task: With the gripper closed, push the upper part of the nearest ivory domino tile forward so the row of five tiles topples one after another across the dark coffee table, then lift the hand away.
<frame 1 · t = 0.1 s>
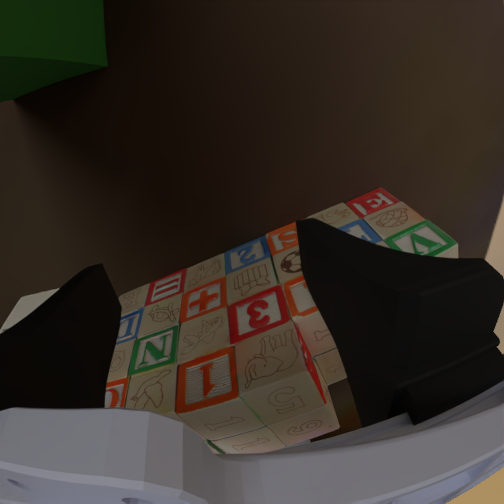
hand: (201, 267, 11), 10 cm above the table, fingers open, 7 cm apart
stack of blocks: (259, 273, 24), on the table
domino 5: (44, 300, 23), on the table
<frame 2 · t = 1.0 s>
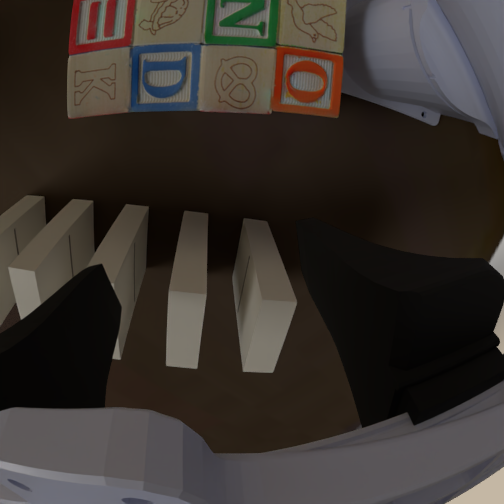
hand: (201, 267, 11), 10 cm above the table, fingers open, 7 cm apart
domino 3: (136, 237, 22), on the table
domino 2: (192, 244, 22), on the table
domino 1: (248, 250, 23), on the table
domino 5: (37, 226, 20), on the table
domino 4: (83, 231, 21), on the table
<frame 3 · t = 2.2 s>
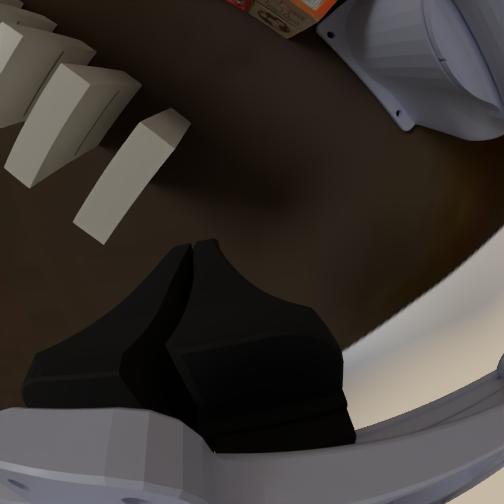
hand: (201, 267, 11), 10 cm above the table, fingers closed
domino 3: (66, 76, 16), on the table
domino 2: (109, 108, 17), on the table
domino 1: (157, 144, 19), on the table
domino 4: (29, 49, 14), on the table
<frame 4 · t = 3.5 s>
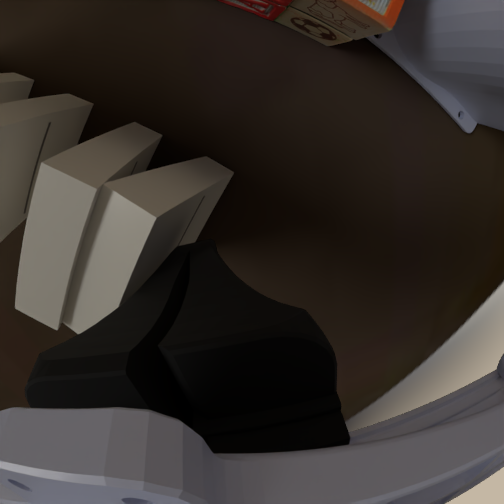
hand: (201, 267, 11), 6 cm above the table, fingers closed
domino 3: (64, 141, 14), on the table
domino 2: (128, 171, 15), on the table
domino 1: (197, 205, 16), on the table, tilted 17°, touching gripper
domino 4: (9, 117, 12), on the table
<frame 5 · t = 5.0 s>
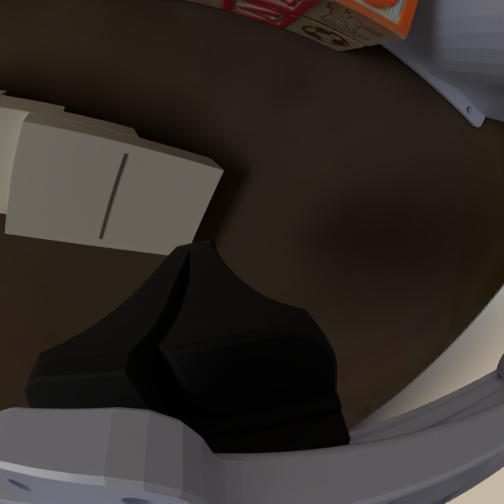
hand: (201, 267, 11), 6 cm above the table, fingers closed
domino 3: (51, 154, 13), point 1 cm above the table, tilted 66°, touching domino 2, domino 4
domino 2: (119, 178, 14), point 1 cm above the table, tilted 66°, touching domino 1, domino 3
domino 1: (197, 208, 16), point 1 cm above the table, tilted 66°, touching domino 2
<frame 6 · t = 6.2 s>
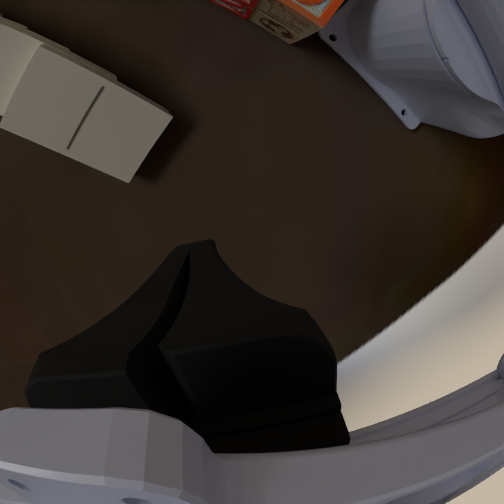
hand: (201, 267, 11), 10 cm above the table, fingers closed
domino 2: (95, 110, 17), point 1 cm above the table, tilted 66°, touching domino 1, domino 3
domino 1: (147, 145, 18), point 1 cm above the table, tilted 66°, touching domino 2
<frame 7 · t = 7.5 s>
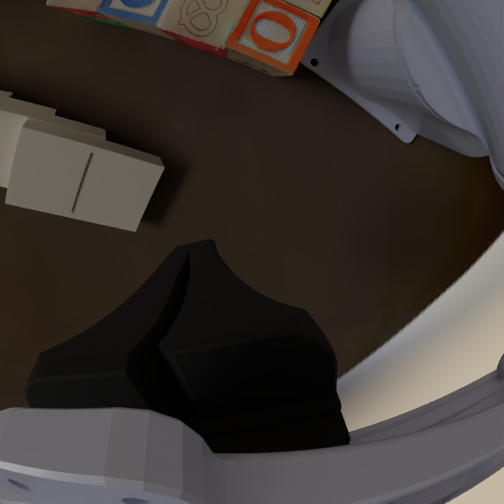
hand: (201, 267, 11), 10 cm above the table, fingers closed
domino 3: (44, 145, 17), point 1 cm above the table, tilted 66°, touching domino 2, domino 4
domino 2: (92, 167, 18), point 1 cm above the table, tilted 66°, touching domino 1, domino 3
domino 1: (146, 194, 20), point 1 cm above the table, tilted 66°, touching domino 2
domino 4: (2, 127, 16), point 1 cm above the table, tilted 66°, touching domino 3, domino 5
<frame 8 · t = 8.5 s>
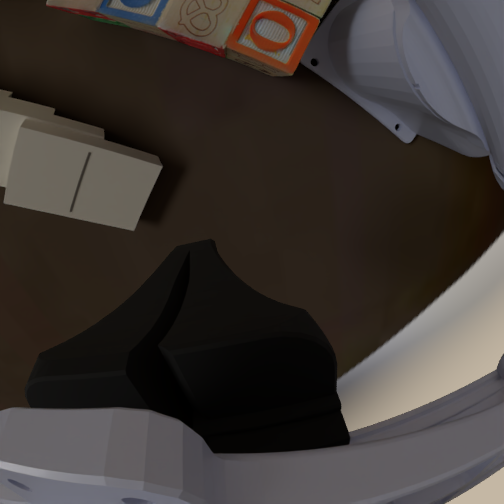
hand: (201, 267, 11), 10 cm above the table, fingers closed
domino 3: (43, 145, 17), point 1 cm above the table, tilted 66°, touching domino 2, domino 4
domino 2: (91, 166, 18), point 1 cm above the table, tilted 66°, touching domino 3
domino 1: (145, 193, 20), point 1 cm above the table, tilted 66°
domino 4: (1, 126, 16), point 1 cm above the table, tilted 66°, touching domino 3, domino 5
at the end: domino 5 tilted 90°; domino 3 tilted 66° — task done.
